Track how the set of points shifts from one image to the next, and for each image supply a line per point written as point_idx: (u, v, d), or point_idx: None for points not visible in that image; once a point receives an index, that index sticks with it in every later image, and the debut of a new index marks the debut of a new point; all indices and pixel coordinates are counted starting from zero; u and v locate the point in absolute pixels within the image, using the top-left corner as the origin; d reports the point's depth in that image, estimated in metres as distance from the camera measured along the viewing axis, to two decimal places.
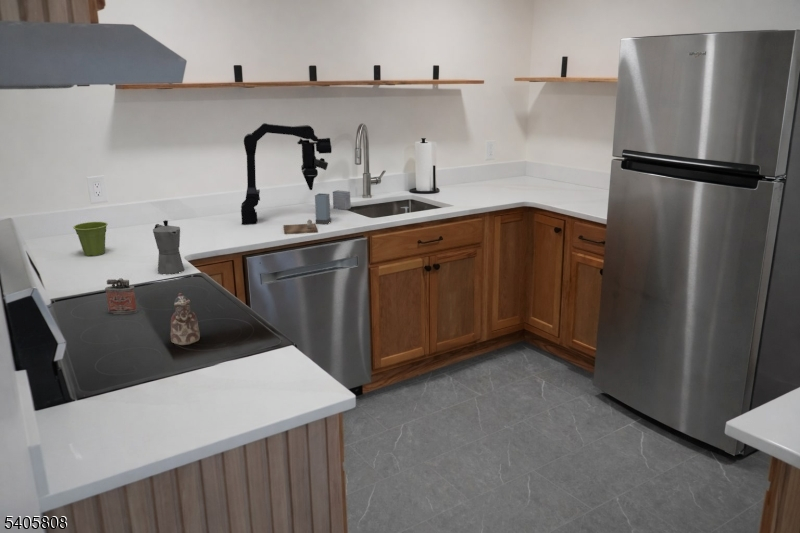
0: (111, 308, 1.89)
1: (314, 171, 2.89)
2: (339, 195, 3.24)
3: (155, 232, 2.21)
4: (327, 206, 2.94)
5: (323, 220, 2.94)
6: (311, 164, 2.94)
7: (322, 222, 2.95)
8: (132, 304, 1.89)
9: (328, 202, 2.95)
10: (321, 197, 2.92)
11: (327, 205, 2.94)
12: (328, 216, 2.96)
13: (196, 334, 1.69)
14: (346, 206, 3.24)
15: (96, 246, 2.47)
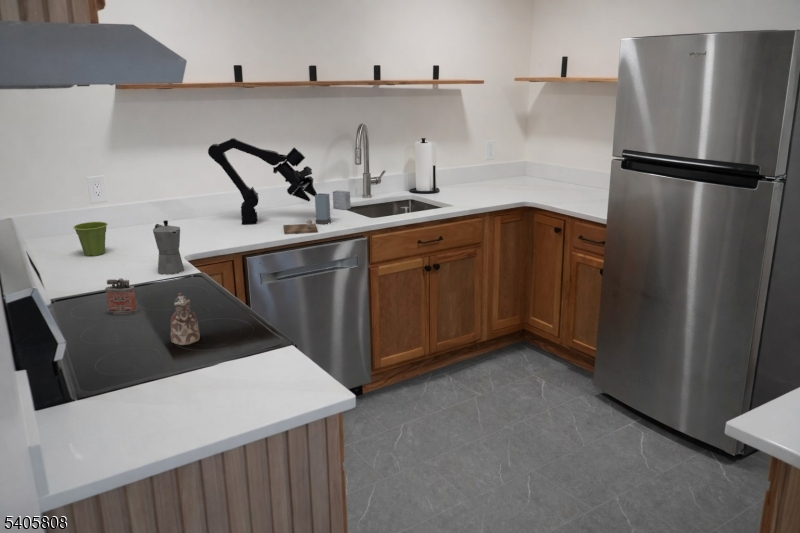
0: (111, 308, 1.89)
1: (293, 185, 2.86)
2: (339, 195, 3.24)
3: (155, 232, 2.21)
4: (327, 206, 2.94)
5: (323, 220, 2.94)
6: (294, 180, 2.92)
7: (322, 222, 2.95)
8: (132, 304, 1.89)
9: (328, 202, 2.95)
10: (321, 197, 2.92)
11: (327, 205, 2.94)
12: (328, 216, 2.96)
13: (196, 334, 1.69)
14: (346, 206, 3.24)
15: (96, 246, 2.47)
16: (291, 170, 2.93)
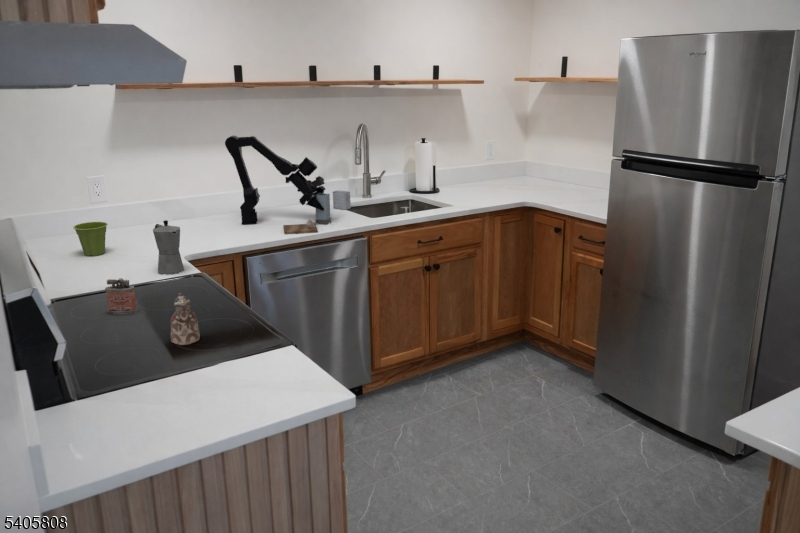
0: (111, 308, 1.89)
1: (306, 195, 2.86)
2: (339, 195, 3.24)
3: (155, 232, 2.21)
4: (327, 206, 2.94)
5: (323, 220, 2.94)
6: (307, 190, 2.92)
7: (322, 222, 2.95)
8: (132, 304, 1.89)
9: (328, 202, 2.95)
10: (321, 197, 2.92)
11: (327, 205, 2.94)
12: (328, 216, 2.96)
13: (196, 334, 1.69)
14: (346, 206, 3.24)
15: (96, 246, 2.47)
16: (303, 180, 2.93)
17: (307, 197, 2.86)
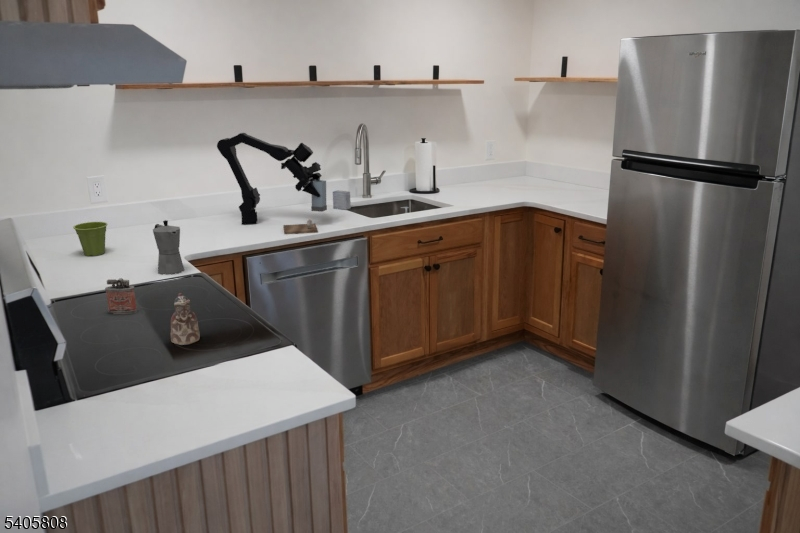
0: (111, 308, 1.89)
1: (302, 181, 2.80)
2: (339, 195, 3.24)
3: (155, 232, 2.21)
4: (323, 193, 2.89)
5: (319, 207, 2.89)
6: (303, 176, 2.87)
7: (318, 209, 2.89)
8: (132, 304, 1.89)
9: (325, 189, 2.90)
10: (318, 183, 2.87)
11: (323, 192, 2.89)
12: (324, 203, 2.91)
13: (196, 334, 1.69)
14: (346, 206, 3.24)
15: (96, 246, 2.47)
16: (299, 166, 2.87)
17: (303, 183, 2.81)
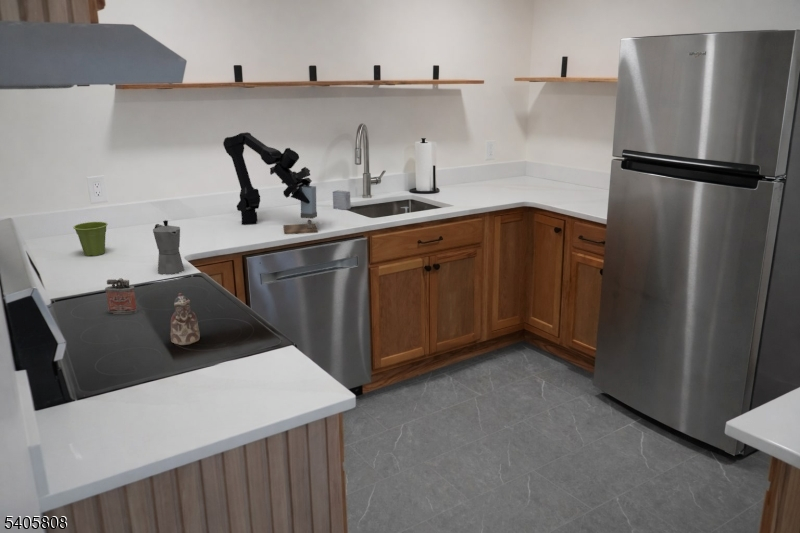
0: (111, 308, 1.89)
1: (290, 187, 2.70)
2: (339, 195, 3.24)
3: (155, 232, 2.21)
4: (313, 199, 2.78)
5: (308, 214, 2.78)
6: (291, 182, 2.76)
7: (307, 216, 2.78)
8: (132, 304, 1.89)
9: (314, 195, 2.79)
10: (307, 189, 2.76)
11: (313, 198, 2.78)
12: (314, 210, 2.80)
13: (196, 334, 1.69)
14: (346, 206, 3.24)
15: (96, 246, 2.47)
16: (288, 171, 2.76)
17: (291, 189, 2.70)
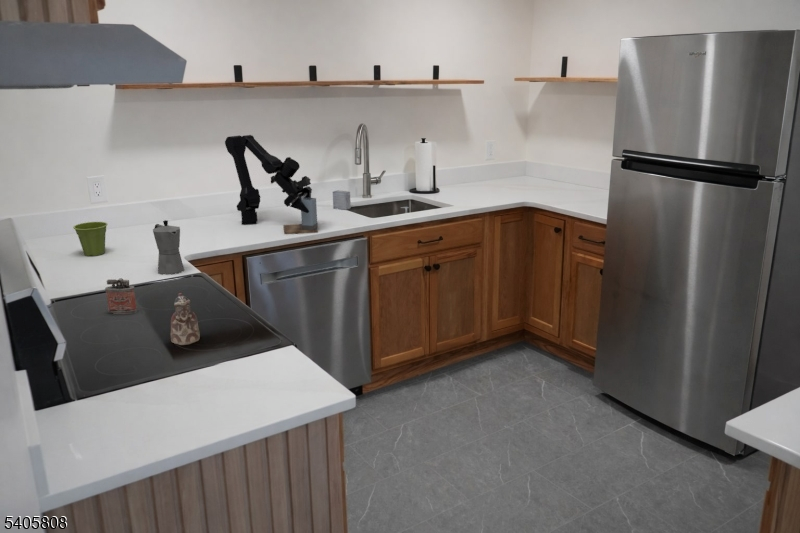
0: (111, 308, 1.89)
1: (290, 196, 2.71)
2: (339, 195, 3.24)
3: (155, 232, 2.21)
4: (313, 211, 2.80)
5: (309, 226, 2.80)
6: (292, 191, 2.77)
7: (308, 228, 2.80)
8: (132, 304, 1.89)
9: (315, 207, 2.80)
10: (307, 201, 2.77)
11: (313, 210, 2.79)
12: (315, 221, 2.82)
13: (196, 334, 1.69)
14: (346, 206, 3.24)
15: (96, 246, 2.47)
16: (288, 180, 2.77)
17: (292, 198, 2.71)
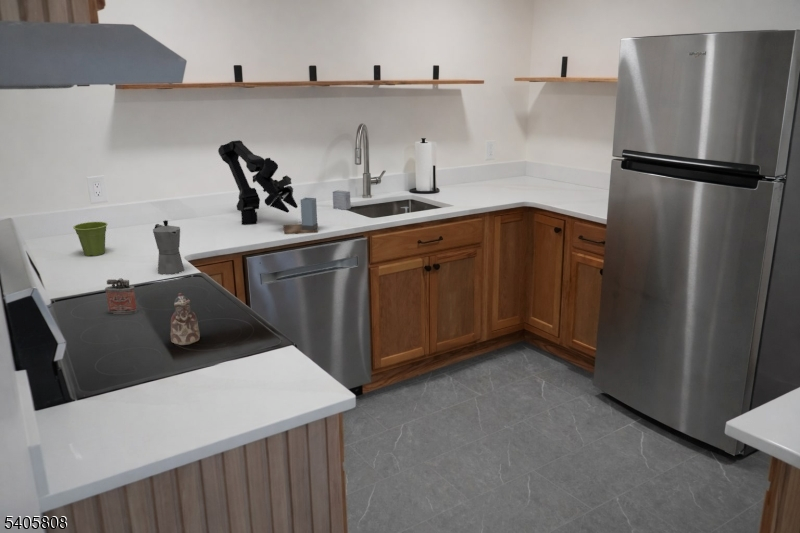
0: (111, 308, 1.89)
1: (271, 195, 2.73)
2: (339, 195, 3.24)
3: (155, 232, 2.21)
4: (313, 211, 2.80)
5: (309, 226, 2.80)
6: (273, 190, 2.79)
7: (308, 228, 2.80)
8: (132, 304, 1.89)
9: (315, 207, 2.80)
10: (307, 201, 2.77)
11: (313, 210, 2.79)
12: (315, 221, 2.82)
13: (196, 334, 1.69)
14: (346, 206, 3.24)
15: (96, 246, 2.47)
16: (269, 180, 2.80)
17: (272, 198, 2.73)
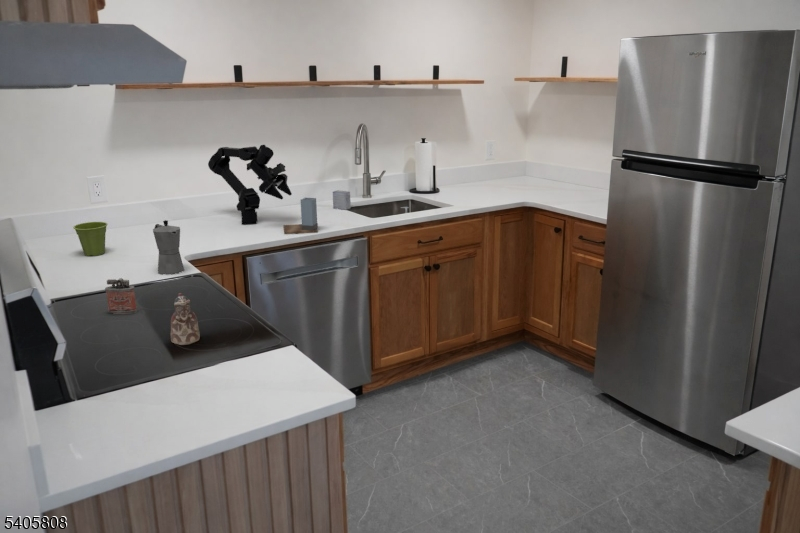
0: (111, 308, 1.89)
1: (265, 182, 2.77)
2: (339, 195, 3.24)
3: (155, 232, 2.21)
4: (313, 211, 2.80)
5: (309, 226, 2.80)
6: (267, 178, 2.83)
7: (308, 228, 2.80)
8: (132, 304, 1.89)
9: (315, 207, 2.80)
10: (307, 201, 2.77)
11: (313, 210, 2.79)
12: (315, 221, 2.82)
13: (196, 334, 1.69)
14: (346, 206, 3.24)
15: (96, 246, 2.47)
16: (264, 167, 2.84)
17: (266, 184, 2.77)
